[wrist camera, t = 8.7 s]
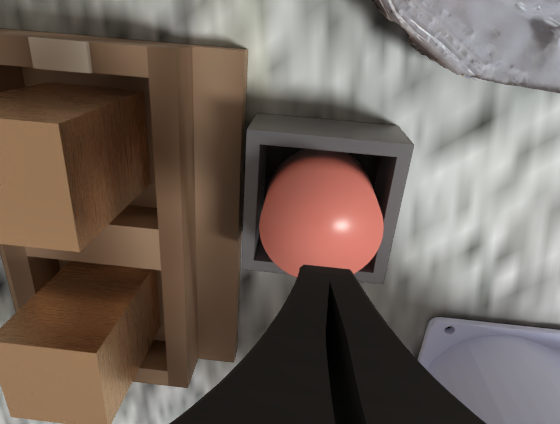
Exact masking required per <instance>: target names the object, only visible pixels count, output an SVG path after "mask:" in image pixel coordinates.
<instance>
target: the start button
mask: <svg viewBox="0 0 560 424" xmlns="http://www.w3.org/2000/svg"><path fill="white" fill-rule="evenodd" d="M383 230H384V223H383V216H382V213H381V210H380V207H379V204H378V201H377V198H376V196H375V193H374V190H373V187H372V184H371V182H370V179H369V177H368V175H367V173H366V171H365V169H364V168H363V167H362V165H361V164H360V163H359V162H358V161H357V160H356V159H354V158H353V157H352V156H350V155H348V154H347V153H345V152H337V151H326V150H316V149H304V150H301V151H299V152H297V153H295V154H293V155H291V156H290V157H288V158H287V159H285V160H284V161H283V162H282V163H281V164H280V165H279V167H278V168H277V169H276V171H275V172H274V174H273V176H272V178H271V181H270V184H269V188H268V191H267V195H266V198H265V202H264V206H263V209H262V213H261V216H260V223H259V232H260V238H261V241H262V244H263V247H264V249H265V251H266V253H267V254H268V256H269V257H270V258H271V260H272V261H273V262H274V263H275V264H276V265H277V266H278V267H279V268H281V269H282V270H284V271H285V272H287V273H288V274H290V275H292V276H295V277H298V273H299V268H300V267H301V266H303V265H314V266H323V267H333V268H342V269H350V270H351V271H352V272H353V274H354V273H356V272H358V271H359V270H360V269H362V268H363V267H364V266H365V265H367V264H368V263H369V262H370V260H371V259H372V258H373V257H374V255H375V254H376V252H377V251H378V248H379V246H380V244H381V241H382V237H383Z"/></svg>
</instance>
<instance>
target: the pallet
mask: <svg viewBox="0 0 560 424" xmlns="http://www.w3.org/2000/svg"><path fill="white" fill-rule="evenodd" d="M247 66H248V49H239V48H227V47H215V46H204V45H192V44H180V43H168V42H156V41H144V40H132V39H121V38H109V37H97V36H85V35H73V34H61V33H49V32H38V31H26V30H14V29H2V28H0V92H4V91H9V90H13V89H18V88H23V87H27V86H32V85H37V84H41V83H46V82H52V83H64V84H75V85H86V86H98V87H109V88H120V89H132V90H143V91H144V94H145V108H146V122H147V136H148V150H149V164H150V178H151V183H150V184H149V185H148V186H147V187H146V188H145V189H144V190H143V191H142V192H141V193H140V194H139V195H138V196H137V197H136V198H135V199H134V200H133V201H132V202H131V203H130V204H129V205H128V206H127V207H126V208H125V209H124V210H123V211H122V212H121V213H120V214H118V215H117V216H116V217H115V218H114V219H113V220H112V221H111V222H110V223H109V224H108V225H107V226H106V227H105V228H104V229H103V230H102V231H101V232H100V233H99V234H98V235H97V236H96V237H95V238H94V239H93V240H92V241H91V242H90V243H89V244H88V245H87V246H86V247H84V248H83V249H82V250H81V251H80V252H72V251H63V250H53V249H44V248H34V247H25V246H15V245H5V244H0V254H1V258H2V261H3V265H4V269H5V273H6V277H7V280H8V284H9V288H10V292H11V296H12V299H13V303H14V307H15V311H16V313H17V312H18V311H19V310H20V309H21V308H22V307H23V306H24V305H25V304H26V303H27V302H28V301H29V300H30V299H31V298H32V297H33V296H34V295H35V294H36V293H37V292H38V291H39V290H40V289H41V288H42V287H43V286H44V285H45V284H47V283H48V282H49V281H50V280H51V279H52V278H53V277H54V276H55V275H56V274H57V273H58V272H59V271H60V270H61V269H62V268H63V267H64V266H65V265H66V264H67V263H68V262H69V261H78V262H87V263H97V264H106V265H115V266H125V267H134V268H144V269H153V270H157V281H158V295H159V310H160V324H161V326H160V328H159V330H158V332H157V334H156V336H155V338H154V340H153V342H152V344H151V346H150V348H149V350H148V352H147V354H146V356H145V358H144V360H143V362H142V364H141V366H140V368H139V370H138V372H137V374H136V376H135V378H134V380H133V382H141V383H149V384H158V385H166V386H175V387H183V388H188V386H189V383H190V380H191V378H192V375H193V372H194V369H195V366H196V363H197V360H198V358H199V359H208V360H217V361H226V362H234V360H235V356H236V352H237V339H238V312H239V285H240V257H241V230H242V203H243V175H244V148H245V120H246V93H247Z"/></svg>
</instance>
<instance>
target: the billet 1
mask: <svg viewBox="0 0 560 424" xmlns="http://www.w3.org/2000/svg"><path fill="white" fill-rule="evenodd" d="M150 183H151V178H150V164H149V150H148V136H147V122H146V108H145V94H144V91H143V90H132V89H120V88H109V87H98V86H86V85H75V84H64V83H52V82H46V83H41V84H37V85H32V86H27V87H23V88H18V89H13V90H9V91H4V92H0V244H5V245H15V246H25V247H34V248H44V249H53V250H63V251H72V252H80V251H81V250H82V249H83V248H84V247H86V246H87V245H88V244H89V243H90V242H91V241H92V240H93V239H94V238H95V237H96V236H97V235H98V234H99V233H100V232H101V231H102V230H103V229H104V228H105V227H106V226H107V225H108V224H109V223H110V222H111V221H112V220H113V219H114V218H115V217H116V216H117V215H118V214H120V213H121V212H122V211H123V210H124V209H125V208H126V207H127V206H128V205H129V204H130V203H131V202H132V201H133V200H134V199H135V198H136V197H137V196H138V195H139V194H140V193H141V192H142V191H143V190H144V189H145V188H146V187H147V186H148V185H149V184H150Z"/></svg>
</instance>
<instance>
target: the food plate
mask: <svg viewBox="0 0 560 424" xmlns="http://www.w3.org/2000/svg"><path fill="white" fill-rule="evenodd" d="M372 1H374V3H375V4H376V6H377V7H378V9H379V11H380V12H381V13H382V14H383V15H384V17H386V19H388V20H390V21H391V22H393V21H395V22H396V23H397V24H399V25H400V26H401V27H402V28H404V30H405V31H406V32H407V33H408V34H409V35H410V36H409V38H408V39H409V43H410V44H411V45H412V47H414V49H416V50H417V51H419V52H420V53H421V54H422V55H426V56H427V57H428V58H429V59H431V60H433V61H435V62H437V63H438V64H439V65H441V66H443V67H444V68H448V69H449V70H451V71H452V72H454V73H455V74H457V75H462V76H463V77H466V78H472V79H474V78H473V77H476V78H479V79H482V80H487V81H492V82H495V83H501V84H505V85H515V86H521V87H526V88H527V87H528V88H532V89H539V90H544V91H550V92H556V93H560V0H372ZM464 75H465V76H464ZM474 80H475V79H474ZM476 81H477V80H476Z"/></svg>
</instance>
